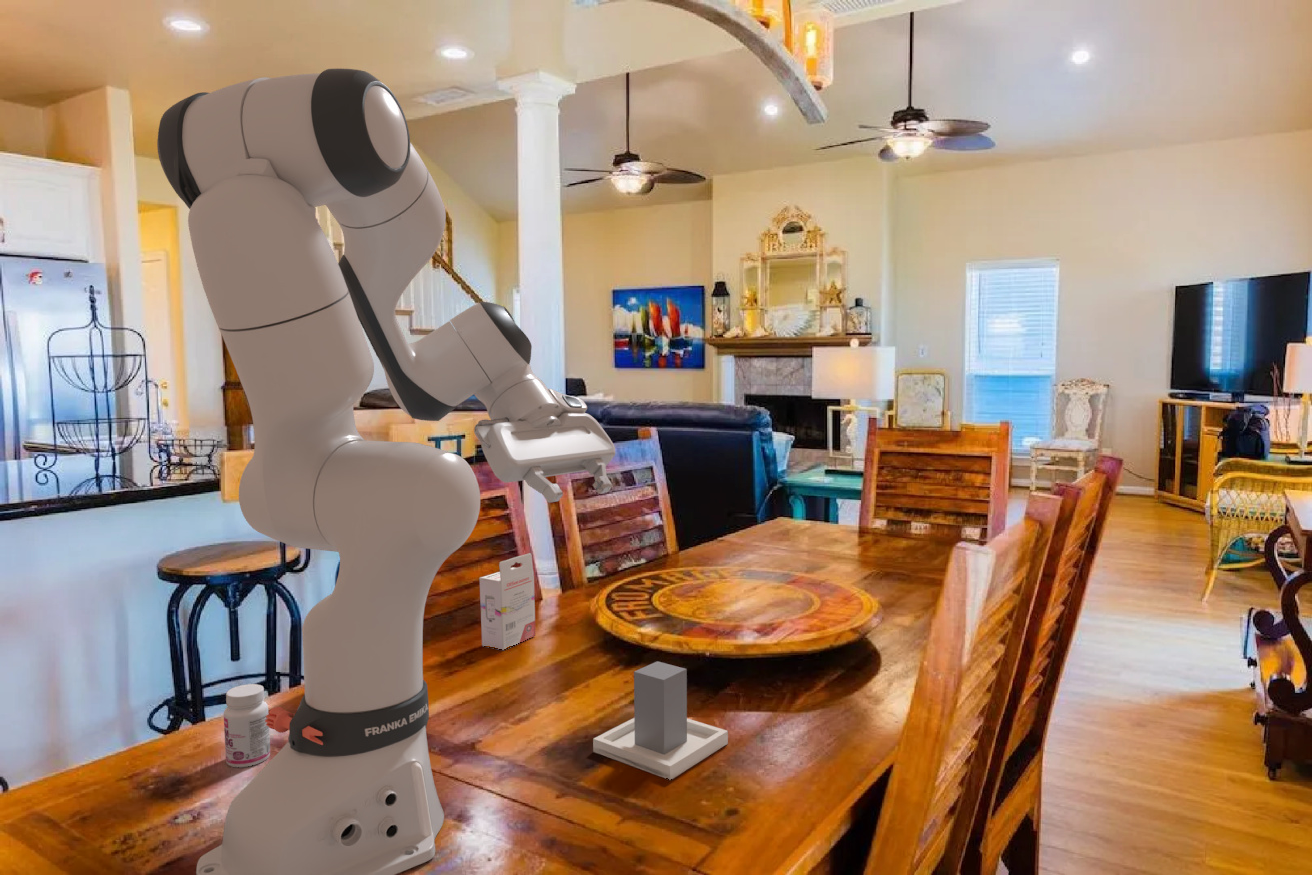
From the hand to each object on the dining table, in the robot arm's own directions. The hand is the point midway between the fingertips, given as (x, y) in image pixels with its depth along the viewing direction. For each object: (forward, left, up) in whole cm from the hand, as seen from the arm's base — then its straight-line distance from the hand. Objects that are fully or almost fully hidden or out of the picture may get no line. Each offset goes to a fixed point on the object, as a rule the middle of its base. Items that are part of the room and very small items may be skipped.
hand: (582, 494), depth 110 cm
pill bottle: (-34, +23, -30) cm, 50 cm away
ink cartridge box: (+14, +31, -30) cm, 45 cm away
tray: (-2, -14, -29) cm, 33 cm away
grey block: (-2, -14, -29) cm, 32 cm away
